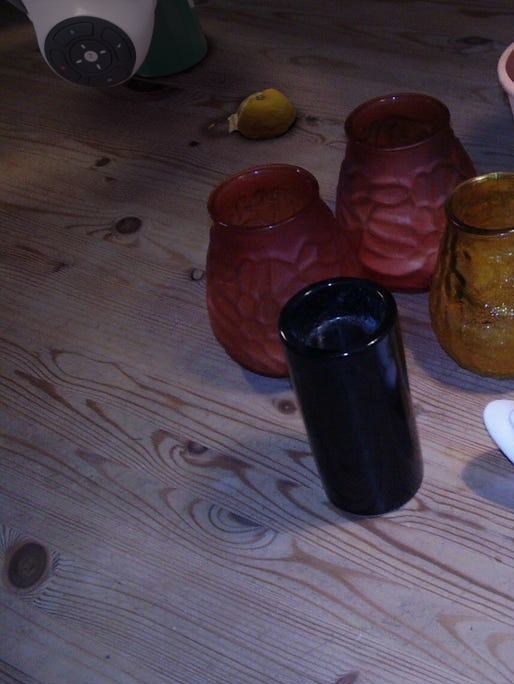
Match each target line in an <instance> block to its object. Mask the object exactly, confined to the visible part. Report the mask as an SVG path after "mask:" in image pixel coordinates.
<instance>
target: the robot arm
mask: <svg viewBox="0 0 514 684" xmlns="http://www.w3.org/2000/svg"><path fill="white" fill-rule="evenodd" d="M6 1H7V2H8V3H10V4H12V5H13V6H14V7H16V8H17V9H18V10H19V11H21V12H22V13H25V14H26V15H27V18H29V21H31V22H32V24H33V27H34V31H35V36H36V40H37V43H38V48H39V50H40V53H41V55H42V57H43V59H44V60H45V62H46V63H47V65H48V67H49V68H50V69H51V70H52V71H53V72H54V73H55V74H56V75H57V76H58V77H60V78H61V79H63V80H64V81H66V82H68V83H70V84H73V85H75V86H78V87H84V88H89V89H105V88H111V87H114V86H117V85H120V84H122V83H124V82H126V81H128V80H129V79H131V77H133V76H134V75H135V74H136V73H135V72H136V71H137V70H138V69H139V68H140V66H141V65H142V63H143V61H144V59H145V57H146V55H147V53H148V50H149V46H150V43H151V39H152V33H153V27H154V10H155V8H156V4H157V0H6Z"/></svg>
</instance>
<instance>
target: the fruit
mask: <svg viewBox="0 0 514 684" xmlns="http://www.w3.org/2000/svg"><path fill="white" fill-rule="evenodd" d="M236 111H237V112H235V113H234V114H231V115H230V117H228V118H227V120H228V121H229V128H228V133H229V134H231V133H232V132H235V131H239V133H240V134H242V135H243V136H244V137H245V138H246V139H248V140H253V141H261V140H271V139H278V138H280V137H282V136H283V135H284V134H285V133H286V132H287V131H289V128H290V126H291V125H292V124H293V123H295V122H296V118H297V111H296V109H295V107H293V105H292V103H291V102H290V100H289V99H288V98H287V97H286V96H285V94H284V93H282V92H281V91H279V90H278V89H275V88H271V87H270V88H267V89H265V90H263V91H262V92H260V91H257V92H254V93H252V94H251V95H249V96H248V97H246V98H245V99H244V100H243V101H241V103H240V105H239V107H238V108H237V110H236ZM213 127H215V124H214V123H212V124H211V125H210V126H209V127H208V128H207V129H208V130H209V129H212V128H213Z"/></svg>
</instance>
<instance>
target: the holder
mask: <svg viewBox="0 0 514 684" xmlns="http://www.w3.org/2000/svg"><path fill="white" fill-rule="evenodd" d="M208 48H209V46H208V43H207V40H206V36H205V33H204V30H203V28H202V25H201V21H200V18H199V14H198V11H197V8H196V6H195V3H194V0H157V4H156V8H155V10H154V27H153V33H152V39H151V43H150V46H149V50H148V53H147V55H146V57H145V59H144V61H143V63H142V65H141V66H140V68H139V69H138V70H137V71H136V72H135V74H136V75H139V76H141V77H142V76H143V77H150V78H151V77H163V76H170V75H173V74H177V73H180V72H183V71H186V70H187V69H189V68H191V67H193V66H195V65H196V64H198V63H199V62H201V60H203V58H204V57H205V56H206V54H207V52H208Z"/></svg>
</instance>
